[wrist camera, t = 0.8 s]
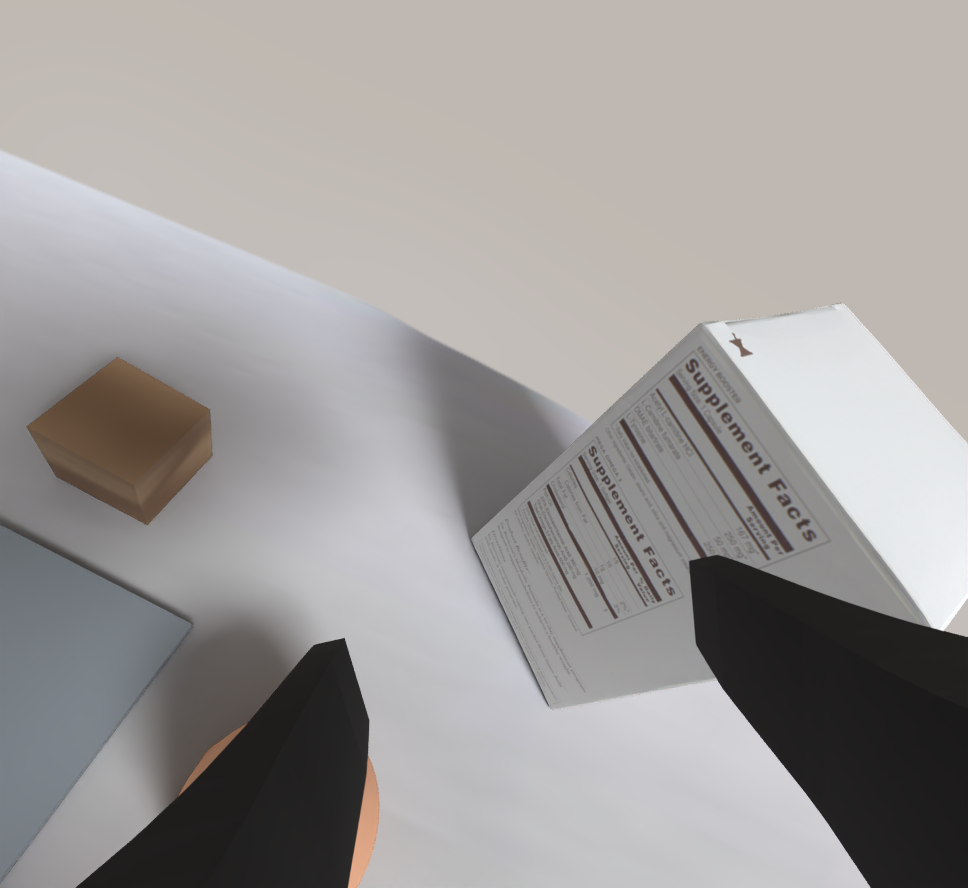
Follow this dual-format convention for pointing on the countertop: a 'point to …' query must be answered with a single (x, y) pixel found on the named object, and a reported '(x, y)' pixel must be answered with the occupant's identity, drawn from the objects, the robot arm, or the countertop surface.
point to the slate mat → (64, 677)
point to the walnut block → (125, 439)
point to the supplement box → (732, 502)
